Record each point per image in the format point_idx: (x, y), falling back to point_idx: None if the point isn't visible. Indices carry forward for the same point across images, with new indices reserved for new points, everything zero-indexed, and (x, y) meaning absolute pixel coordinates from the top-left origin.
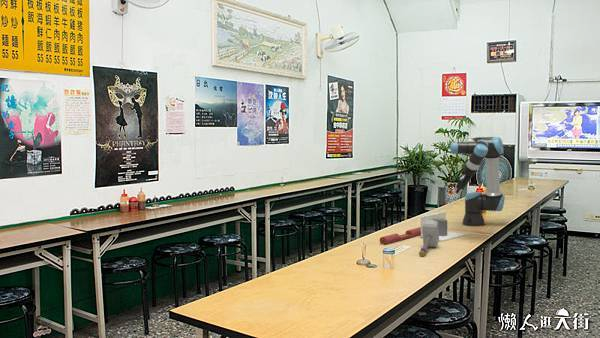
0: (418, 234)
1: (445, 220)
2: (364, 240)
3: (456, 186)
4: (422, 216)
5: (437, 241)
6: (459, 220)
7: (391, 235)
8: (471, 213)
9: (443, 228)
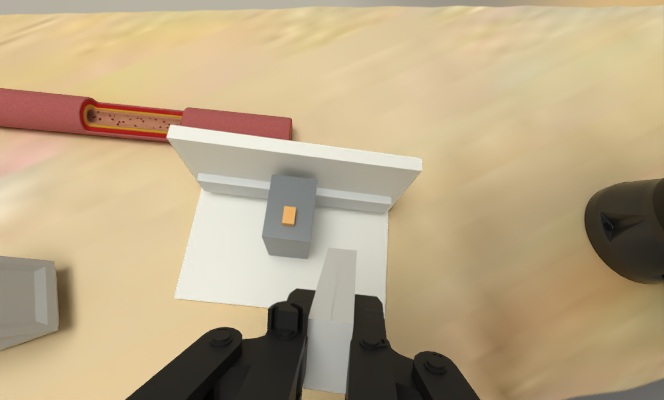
0: None
1: (290, 239)
2: (47, 30)
3: (183, 355)
4: (176, 132)
5: (8, 342)
6: (649, 148)
7: (24, 105)
8: (659, 223)
9: (270, 247)
